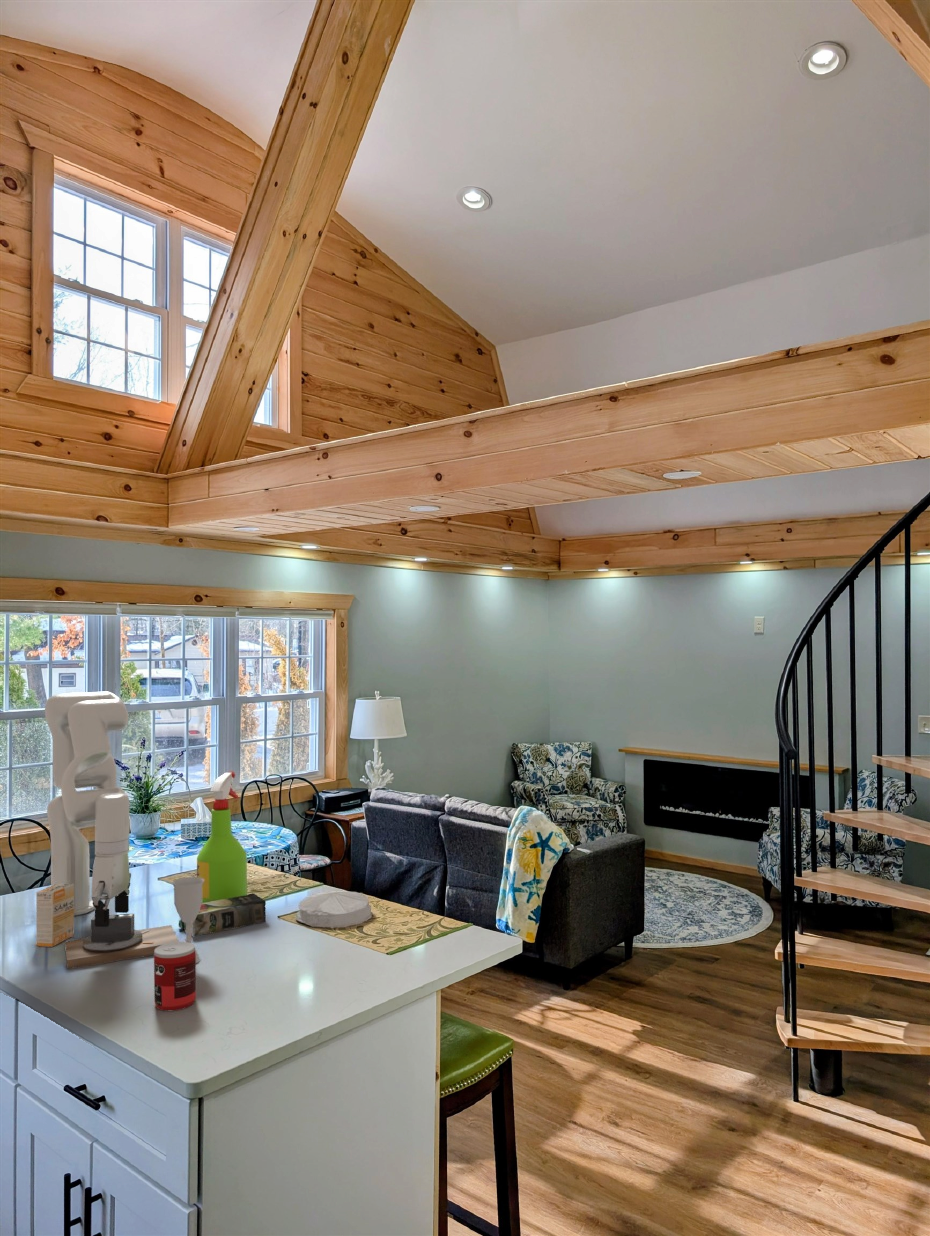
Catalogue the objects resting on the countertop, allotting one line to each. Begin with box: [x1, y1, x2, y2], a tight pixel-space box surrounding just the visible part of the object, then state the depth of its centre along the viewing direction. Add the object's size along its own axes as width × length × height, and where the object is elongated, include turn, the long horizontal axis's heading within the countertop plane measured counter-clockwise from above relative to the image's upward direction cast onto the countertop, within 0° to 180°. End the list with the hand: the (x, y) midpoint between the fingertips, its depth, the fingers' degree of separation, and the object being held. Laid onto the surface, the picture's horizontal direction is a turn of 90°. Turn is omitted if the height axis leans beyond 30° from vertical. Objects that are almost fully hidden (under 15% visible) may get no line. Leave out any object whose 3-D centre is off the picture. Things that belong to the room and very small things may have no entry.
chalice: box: [171, 876, 204, 964], centre depth 197 cm, size 7×7×18 cm
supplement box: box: [35, 883, 75, 948], centre depth 212 cm, size 8×5×13 cm, turn 168°
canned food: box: [153, 941, 197, 1011], centre depth 174 cm, size 8×8×11 cm
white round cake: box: [295, 890, 373, 929], centre depth 228 cm, size 20×20×7 cm
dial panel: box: [65, 924, 180, 970], centre depth 205 cm, size 14×24×2 cm, turn 116°
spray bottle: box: [196, 770, 248, 903], centre depth 247 cm, size 14×18×35 cm
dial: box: [83, 913, 142, 952], centre depth 204 cm, size 13×13×6 cm
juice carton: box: [178, 893, 267, 937], centre depth 222 cm, size 20×10×6 cm, turn 124°
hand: (112, 919), depth 204 cm, fingers open, 9 cm apart
